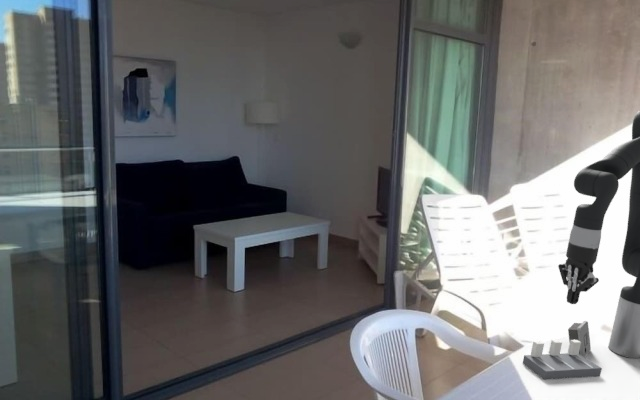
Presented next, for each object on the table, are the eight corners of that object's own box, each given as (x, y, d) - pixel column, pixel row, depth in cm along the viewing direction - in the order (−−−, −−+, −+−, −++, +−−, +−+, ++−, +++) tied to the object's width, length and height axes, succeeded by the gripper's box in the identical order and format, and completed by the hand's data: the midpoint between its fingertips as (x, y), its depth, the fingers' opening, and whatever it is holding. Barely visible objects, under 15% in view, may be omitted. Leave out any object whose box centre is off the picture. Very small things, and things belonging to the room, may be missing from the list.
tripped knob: (555, 352, 157) (558, 339, 157) (559, 355, 156) (562, 342, 155) (548, 353, 157) (551, 340, 156) (552, 355, 155) (555, 342, 154)
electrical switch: (583, 360, 162) (586, 330, 161) (564, 355, 165) (567, 325, 164) (590, 351, 169) (593, 322, 168) (573, 346, 172) (575, 318, 171)
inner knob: (574, 352, 159) (577, 339, 158) (578, 355, 158) (581, 342, 157) (567, 352, 158) (570, 340, 158) (571, 355, 157) (574, 342, 156)
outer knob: (537, 354, 155) (540, 341, 154) (541, 356, 154) (544, 343, 153) (530, 354, 154) (533, 341, 154) (534, 357, 153) (537, 343, 152)
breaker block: (576, 360, 161) (578, 352, 160) (599, 376, 152) (601, 367, 152) (522, 363, 155) (524, 354, 154) (544, 379, 146) (546, 371, 146)
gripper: (555, 236, 153) (544, 294, 157) (591, 250, 141) (578, 313, 144) (576, 236, 156) (565, 294, 159) (614, 250, 143) (600, 312, 147)
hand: (571, 302), depth 152 cm, fingers closed
